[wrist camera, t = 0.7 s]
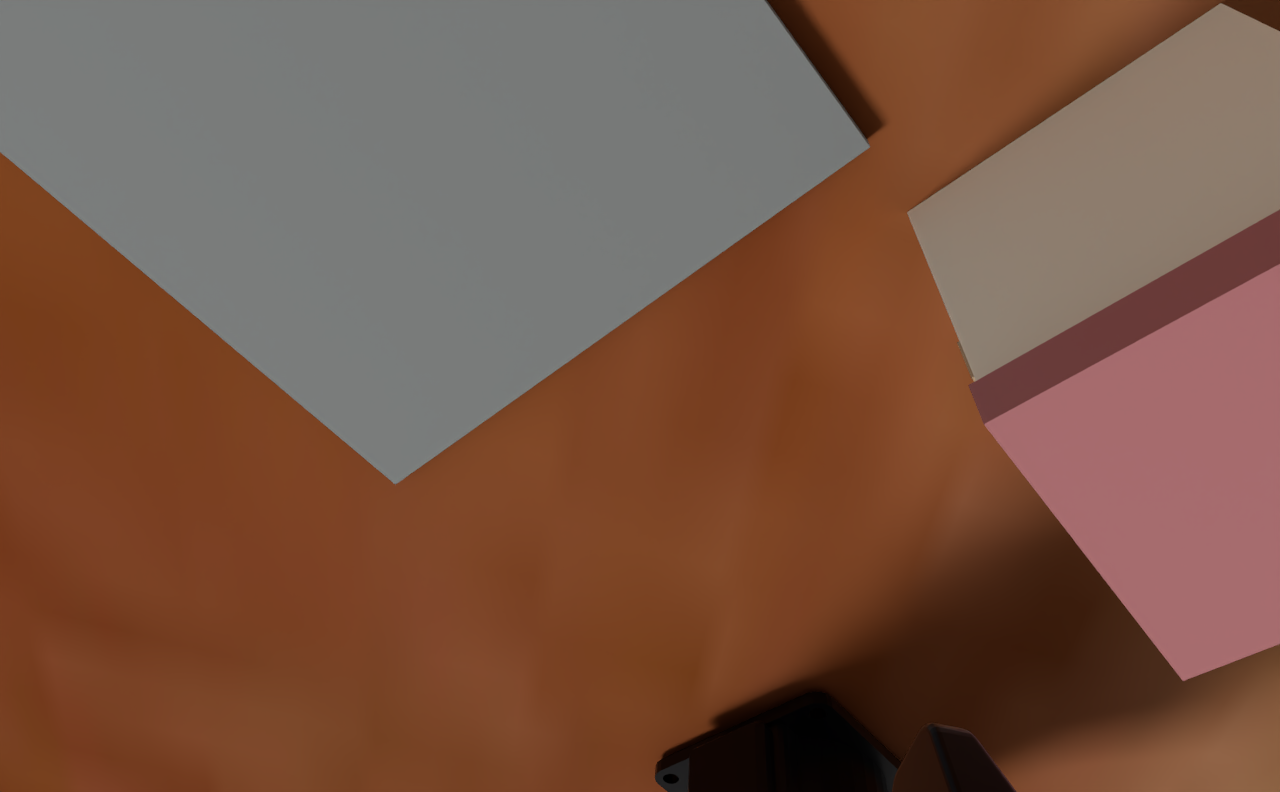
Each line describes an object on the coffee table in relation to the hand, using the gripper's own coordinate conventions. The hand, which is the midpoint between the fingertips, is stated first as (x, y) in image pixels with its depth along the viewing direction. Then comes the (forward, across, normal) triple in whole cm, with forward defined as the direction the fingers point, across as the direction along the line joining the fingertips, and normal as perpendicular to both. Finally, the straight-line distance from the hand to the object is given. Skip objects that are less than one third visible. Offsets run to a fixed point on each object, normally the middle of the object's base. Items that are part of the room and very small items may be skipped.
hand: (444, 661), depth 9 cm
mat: (+13, +5, -1) cm, 14 cm away
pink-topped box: (+13, -11, -1) cm, 17 cm away
